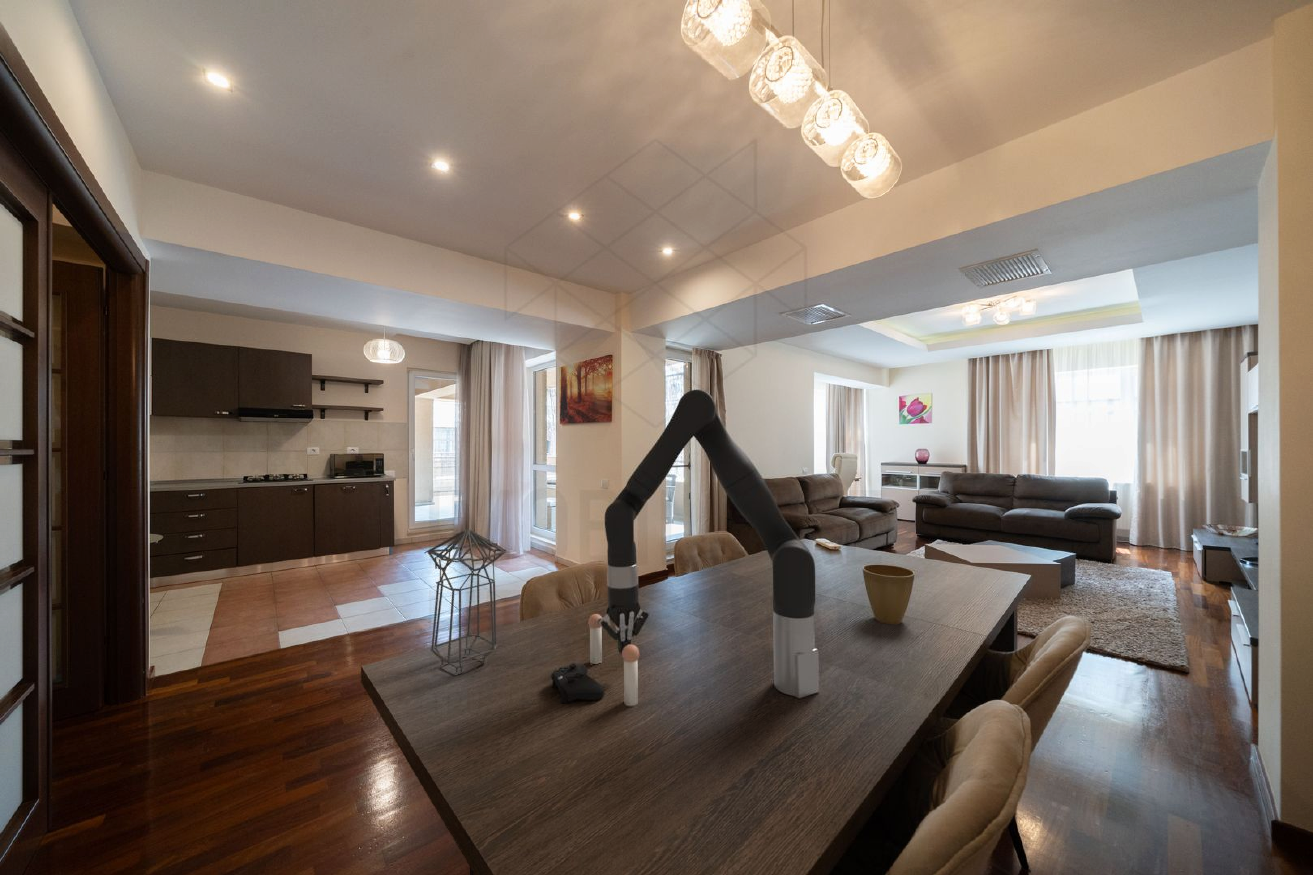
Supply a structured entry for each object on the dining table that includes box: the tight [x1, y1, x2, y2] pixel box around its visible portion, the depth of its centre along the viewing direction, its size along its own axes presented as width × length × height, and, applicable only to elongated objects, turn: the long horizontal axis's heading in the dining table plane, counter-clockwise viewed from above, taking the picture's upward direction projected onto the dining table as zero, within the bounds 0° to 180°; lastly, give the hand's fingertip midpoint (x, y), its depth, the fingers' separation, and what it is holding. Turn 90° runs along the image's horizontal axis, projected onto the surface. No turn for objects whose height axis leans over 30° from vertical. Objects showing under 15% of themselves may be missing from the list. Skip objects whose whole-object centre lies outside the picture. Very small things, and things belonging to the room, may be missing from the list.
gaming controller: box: [550, 663, 606, 704], centre depth 110 cm, size 14×6×10 cm
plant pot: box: [862, 563, 916, 625], centre depth 151 cm, size 15×15×16 cm
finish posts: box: [588, 613, 640, 707], centre depth 114 cm, size 26×4×12 cm, turn 27°
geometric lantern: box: [424, 529, 508, 673], centre depth 122 cm, size 16×16×35 cm
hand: (624, 654), depth 115 cm, fingers closed
